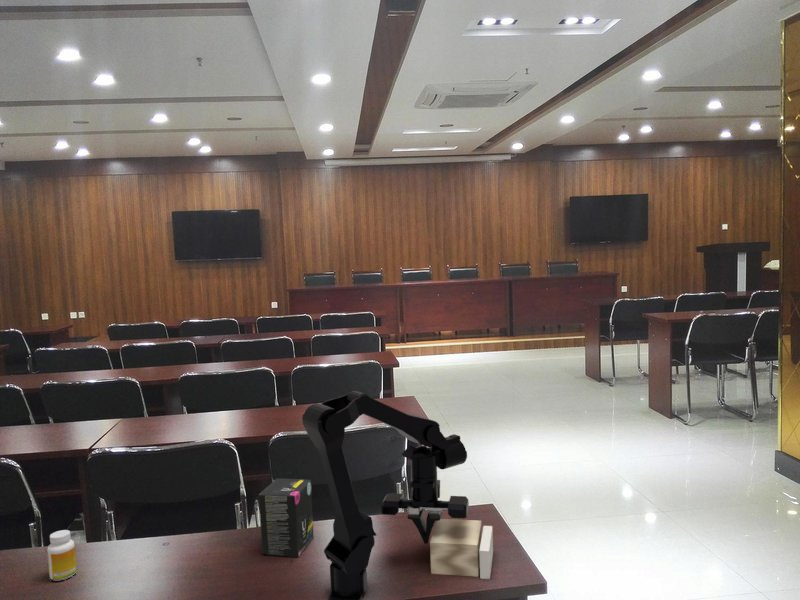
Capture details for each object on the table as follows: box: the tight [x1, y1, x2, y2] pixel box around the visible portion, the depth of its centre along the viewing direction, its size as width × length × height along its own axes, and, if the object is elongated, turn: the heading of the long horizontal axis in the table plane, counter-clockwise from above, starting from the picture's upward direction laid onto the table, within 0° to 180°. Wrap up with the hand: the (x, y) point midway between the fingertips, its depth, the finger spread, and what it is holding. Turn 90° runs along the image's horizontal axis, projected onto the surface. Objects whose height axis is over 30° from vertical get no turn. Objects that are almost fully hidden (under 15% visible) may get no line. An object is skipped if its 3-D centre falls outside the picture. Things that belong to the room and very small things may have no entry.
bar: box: [479, 525, 494, 580], centre depth 135 cm, size 2×12×6 cm, turn 168°
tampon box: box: [258, 478, 315, 558], centre depth 147 cm, size 11×9×15 cm
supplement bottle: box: [46, 529, 78, 579], centre depth 137 cm, size 5×5×10 cm
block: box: [429, 518, 483, 578], centre depth 137 cm, size 10×12×7 cm
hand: (426, 542), depth 137 cm, fingers closed
